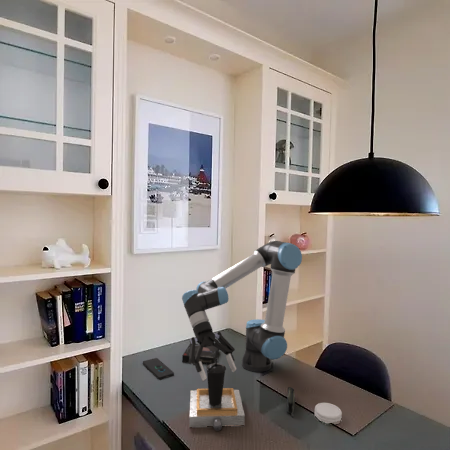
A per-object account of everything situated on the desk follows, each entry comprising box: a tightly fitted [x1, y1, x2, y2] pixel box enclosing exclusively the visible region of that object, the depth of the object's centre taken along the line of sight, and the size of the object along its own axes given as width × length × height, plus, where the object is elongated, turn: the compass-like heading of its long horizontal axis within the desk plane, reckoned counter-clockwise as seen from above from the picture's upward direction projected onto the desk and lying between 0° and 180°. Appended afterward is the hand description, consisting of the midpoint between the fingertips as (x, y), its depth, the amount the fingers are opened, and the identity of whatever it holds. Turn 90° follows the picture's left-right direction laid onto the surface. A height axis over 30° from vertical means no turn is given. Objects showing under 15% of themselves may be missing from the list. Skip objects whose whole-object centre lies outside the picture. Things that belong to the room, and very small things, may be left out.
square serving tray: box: [189, 387, 246, 432], centre depth 132 cm, size 20×21×6 cm
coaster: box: [314, 402, 343, 423], centre depth 132 cm, size 10×10×4 cm
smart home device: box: [142, 357, 175, 380], centre depth 168 cm, size 8×2×20 cm
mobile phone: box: [286, 386, 296, 418], centre depth 138 cm, size 5×3×15 cm
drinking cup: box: [205, 351, 227, 406], centre depth 133 cm, size 8×8×20 cm
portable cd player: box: [181, 343, 220, 366], centre depth 184 cm, size 16×17×4 cm
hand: (220, 375), depth 131 cm, fingers open, 13 cm apart
